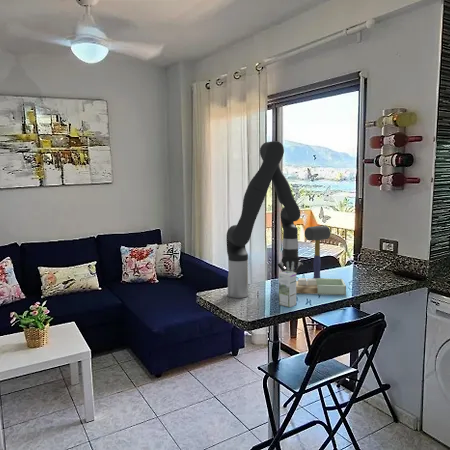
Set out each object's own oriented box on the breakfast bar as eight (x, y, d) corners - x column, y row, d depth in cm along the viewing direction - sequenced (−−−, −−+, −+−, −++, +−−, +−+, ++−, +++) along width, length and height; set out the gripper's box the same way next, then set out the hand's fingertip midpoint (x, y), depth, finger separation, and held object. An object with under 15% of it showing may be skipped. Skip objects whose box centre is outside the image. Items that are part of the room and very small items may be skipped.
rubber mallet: (311, 285, 215) (312, 227, 212) (302, 282, 222) (303, 226, 219) (330, 282, 221) (331, 225, 218) (321, 279, 228) (322, 224, 224)
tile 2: (307, 285, 205) (307, 280, 205) (307, 283, 209) (307, 278, 209) (315, 285, 205) (316, 280, 204) (315, 283, 209) (315, 278, 208)
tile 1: (298, 284, 206) (298, 279, 206) (298, 282, 210) (298, 277, 210) (306, 285, 205) (306, 280, 205) (306, 283, 209) (306, 278, 209)
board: (291, 293, 203) (291, 286, 203) (291, 286, 215) (291, 280, 214) (317, 293, 201) (317, 287, 201) (315, 287, 213) (316, 281, 213)
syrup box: (296, 304, 185) (297, 272, 183) (289, 307, 181) (289, 274, 179) (285, 302, 189) (286, 270, 187) (278, 305, 184) (278, 272, 183)
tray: (317, 294, 200) (317, 285, 200) (315, 286, 214) (315, 278, 213) (345, 295, 198) (346, 286, 198) (342, 287, 212) (342, 278, 211)
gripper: (276, 248, 204) (276, 283, 206) (304, 248, 202) (304, 284, 204) (276, 245, 211) (276, 279, 213) (303, 246, 209) (303, 280, 211)
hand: (290, 281), depth 209 cm, fingers closed
